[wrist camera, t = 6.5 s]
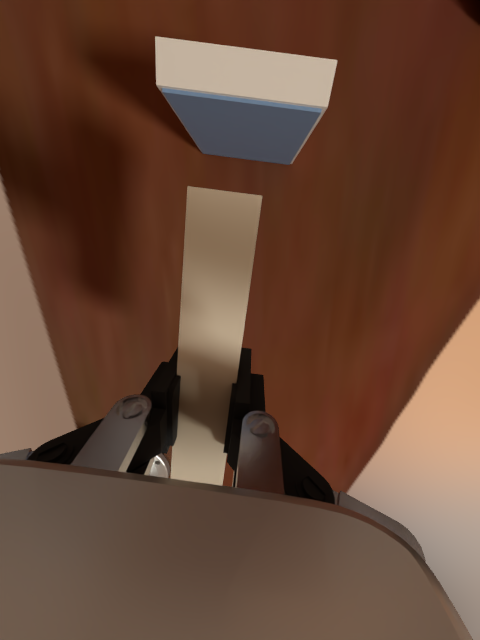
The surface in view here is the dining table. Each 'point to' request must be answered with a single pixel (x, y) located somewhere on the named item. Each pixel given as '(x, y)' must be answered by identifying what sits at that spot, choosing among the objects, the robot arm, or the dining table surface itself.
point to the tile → (244, 97)
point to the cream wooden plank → (211, 325)
